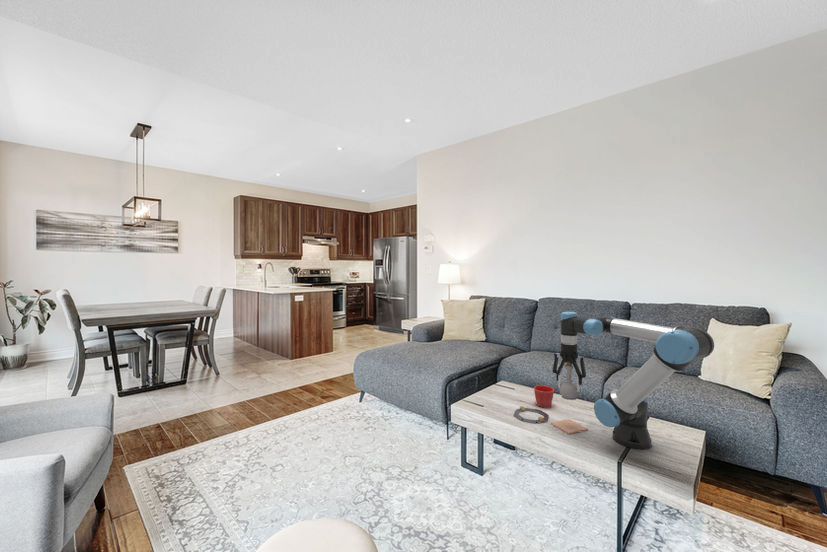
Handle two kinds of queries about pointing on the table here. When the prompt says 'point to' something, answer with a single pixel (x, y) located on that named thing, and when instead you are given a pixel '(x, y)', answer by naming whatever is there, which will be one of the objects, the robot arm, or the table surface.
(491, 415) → the table surface
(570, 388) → the potion bottle
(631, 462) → the table surface
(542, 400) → the flower pot
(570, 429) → the coaster
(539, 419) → the collar
